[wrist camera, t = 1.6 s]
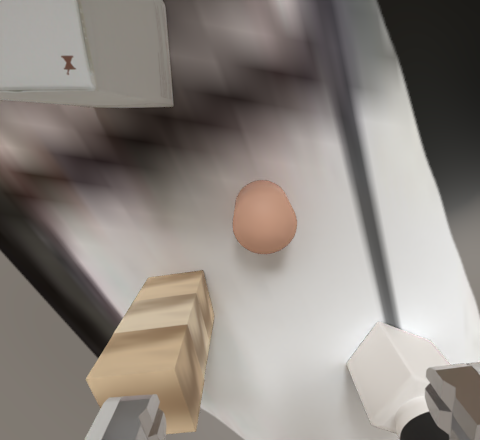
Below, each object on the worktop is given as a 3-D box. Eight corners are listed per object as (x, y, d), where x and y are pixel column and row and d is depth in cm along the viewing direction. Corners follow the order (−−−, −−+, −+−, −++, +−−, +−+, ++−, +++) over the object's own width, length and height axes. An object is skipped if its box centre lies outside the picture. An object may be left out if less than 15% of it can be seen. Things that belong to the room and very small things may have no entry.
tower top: (114, 333, 21) (85, 379, 18) (187, 324, 21) (174, 369, 17) (136, 387, 23) (115, 438, 20) (204, 380, 23) (196, 431, 19)
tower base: (148, 277, 29) (133, 301, 25) (203, 270, 28) (196, 293, 25) (163, 322, 31) (151, 350, 27) (214, 316, 30) (209, 343, 27)
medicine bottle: (344, 363, 32) (396, 493, 21) (377, 319, 30) (455, 439, 19) (395, 381, 33) (471, 515, 22) (431, 339, 31) (537, 466, 20)
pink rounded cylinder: (231, 184, 25) (227, 199, 20) (284, 176, 25) (293, 189, 20) (239, 233, 27) (238, 257, 22) (290, 226, 26) (299, 249, 22)
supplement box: (167, 2, 20) (55, -165, 8) (175, 108, 23) (97, 97, 11) (70, 2, 20) (-175, -161, 9) (89, 108, 23) (-79, 96, 11)
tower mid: (133, 301, 25) (113, 333, 21) (196, 293, 25) (187, 324, 21) (151, 350, 27) (136, 387, 23) (209, 343, 27) (203, 380, 23)
